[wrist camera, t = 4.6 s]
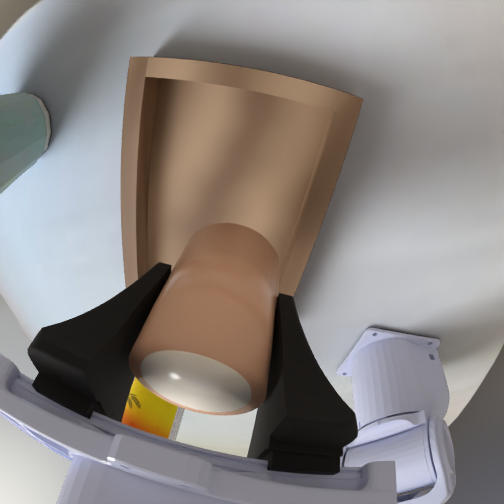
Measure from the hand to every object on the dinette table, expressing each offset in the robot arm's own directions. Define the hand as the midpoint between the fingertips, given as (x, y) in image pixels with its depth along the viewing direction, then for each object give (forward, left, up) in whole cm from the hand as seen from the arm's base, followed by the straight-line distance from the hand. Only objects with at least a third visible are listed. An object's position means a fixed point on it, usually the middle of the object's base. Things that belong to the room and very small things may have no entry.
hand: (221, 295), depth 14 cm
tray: (+2, 0, -9) cm, 9 cm away
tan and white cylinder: (0, 0, -2) cm, 2 cm away
